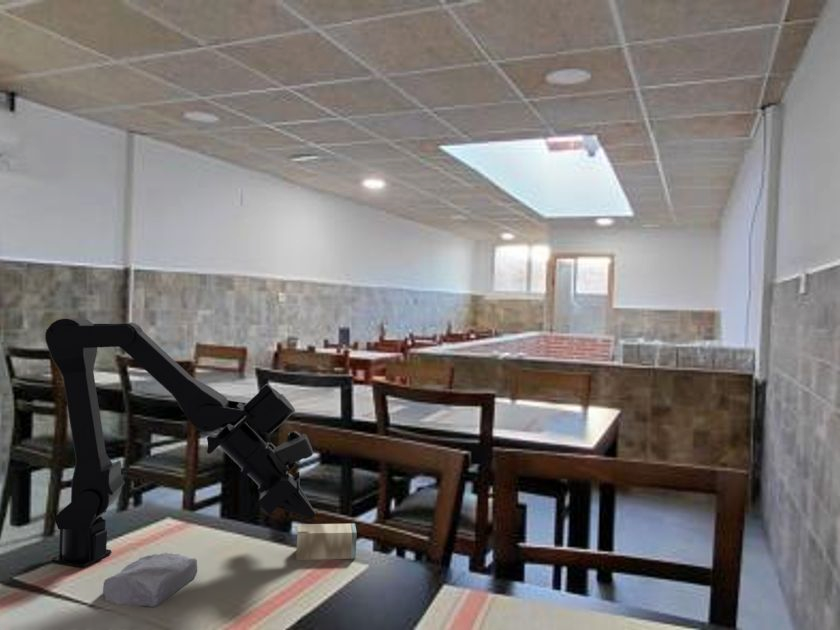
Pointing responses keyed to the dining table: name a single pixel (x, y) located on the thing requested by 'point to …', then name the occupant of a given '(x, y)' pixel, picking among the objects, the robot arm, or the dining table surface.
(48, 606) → the dining table surface
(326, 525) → the beech block
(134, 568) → the stone block
